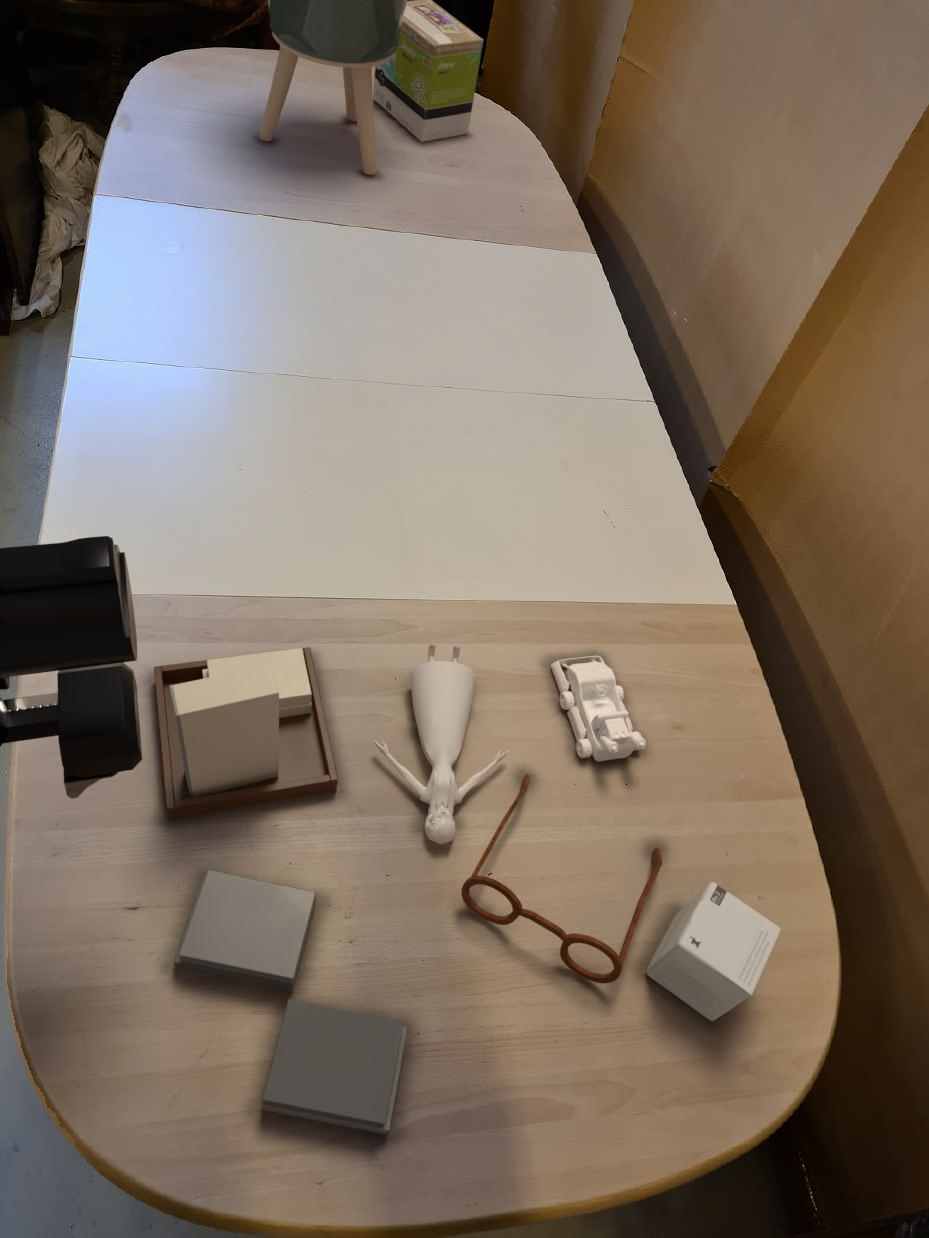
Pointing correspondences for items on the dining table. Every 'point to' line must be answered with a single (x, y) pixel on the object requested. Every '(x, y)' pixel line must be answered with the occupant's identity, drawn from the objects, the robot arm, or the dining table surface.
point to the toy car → (596, 709)
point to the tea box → (430, 73)
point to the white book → (228, 729)
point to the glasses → (545, 923)
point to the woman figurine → (441, 737)
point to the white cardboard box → (714, 952)
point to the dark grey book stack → (336, 1067)
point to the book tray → (299, 775)
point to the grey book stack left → (246, 931)
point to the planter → (335, 54)
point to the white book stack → (286, 673)
